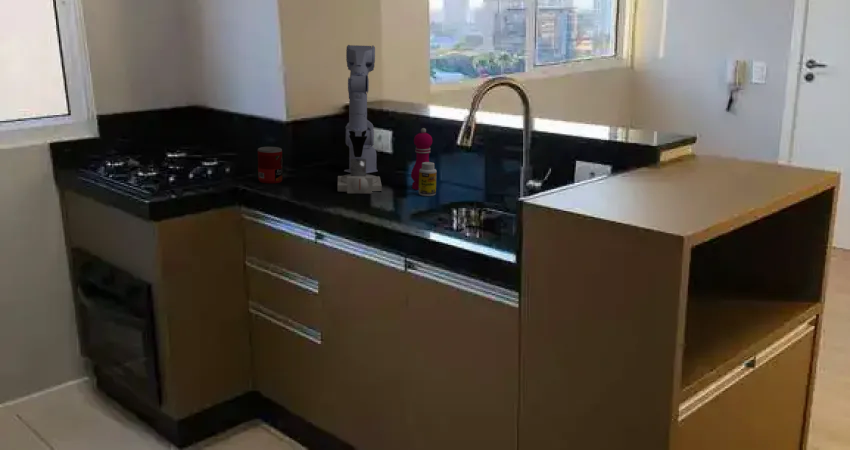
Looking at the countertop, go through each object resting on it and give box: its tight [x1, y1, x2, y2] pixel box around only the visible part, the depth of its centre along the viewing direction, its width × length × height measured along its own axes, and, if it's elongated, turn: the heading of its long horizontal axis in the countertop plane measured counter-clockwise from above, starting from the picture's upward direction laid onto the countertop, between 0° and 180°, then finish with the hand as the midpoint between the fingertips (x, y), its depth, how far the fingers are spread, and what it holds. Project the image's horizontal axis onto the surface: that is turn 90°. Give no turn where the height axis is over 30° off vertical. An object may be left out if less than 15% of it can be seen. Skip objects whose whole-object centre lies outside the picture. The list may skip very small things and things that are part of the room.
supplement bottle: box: [418, 161, 438, 197], centre depth 259 cm, size 6×6×10 cm
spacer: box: [350, 158, 367, 176], centre depth 266 cm, size 5×5×6 cm
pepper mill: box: [410, 127, 433, 191], centre depth 265 cm, size 7×7×20 cm
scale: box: [337, 173, 383, 194], centre depth 266 cm, size 17×14×5 cm
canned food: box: [257, 146, 283, 185], centre depth 270 cm, size 8×8×11 cm
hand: (357, 154), depth 267 cm, fingers open, 7 cm apart
